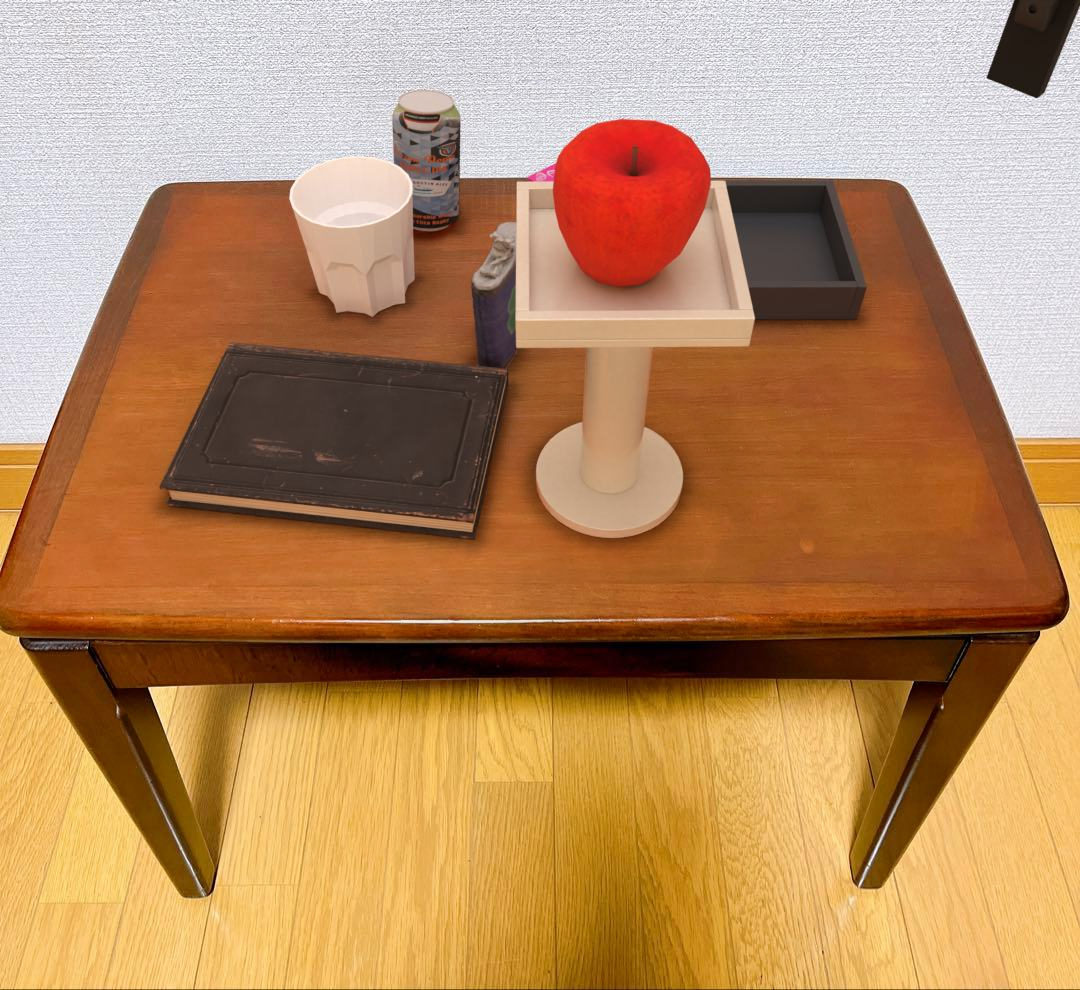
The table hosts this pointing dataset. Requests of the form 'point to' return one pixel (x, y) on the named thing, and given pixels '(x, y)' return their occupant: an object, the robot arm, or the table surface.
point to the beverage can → (429, 155)
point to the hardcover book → (342, 440)
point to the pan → (796, 250)
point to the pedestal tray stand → (621, 358)
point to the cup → (357, 231)
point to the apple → (629, 198)
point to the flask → (496, 300)
